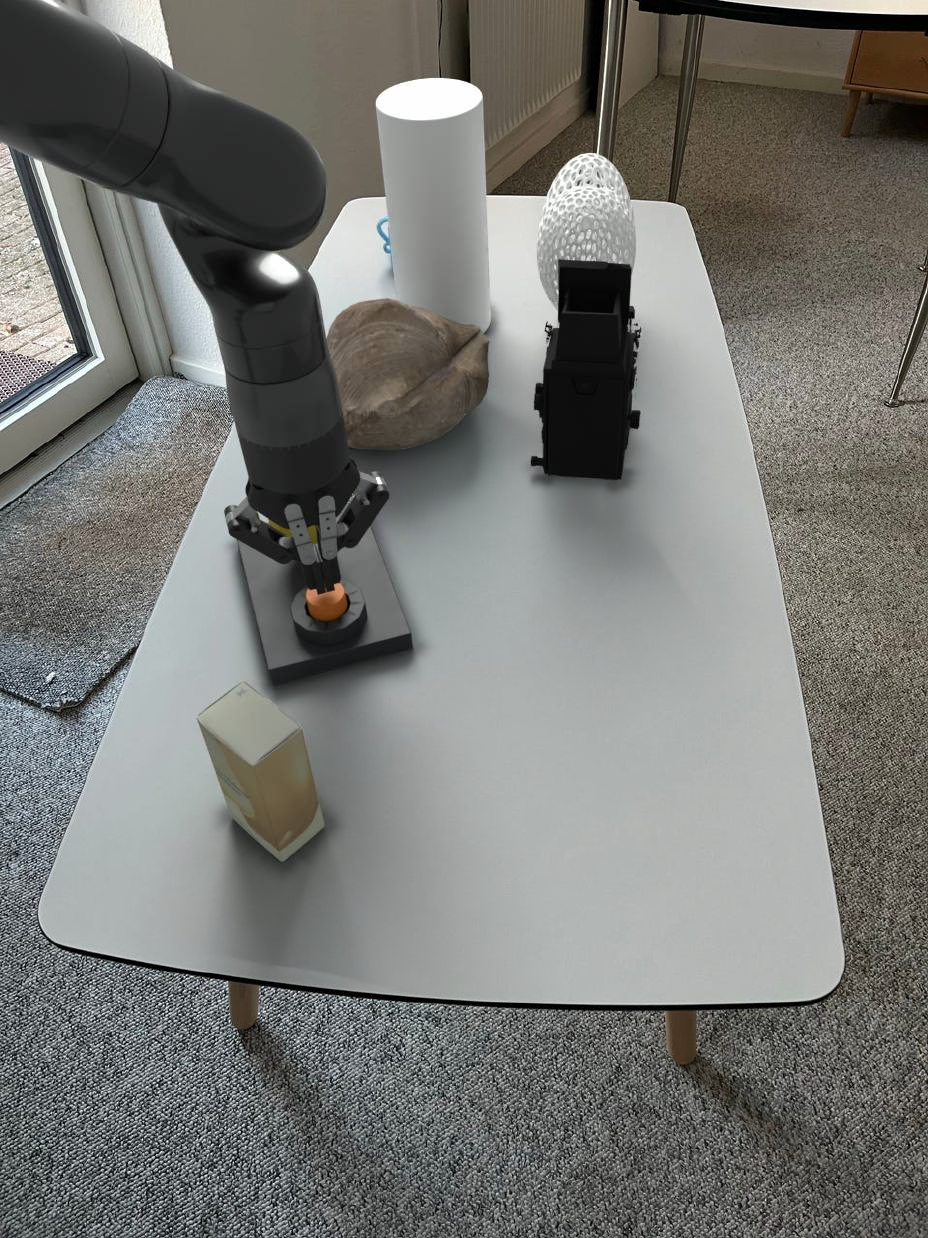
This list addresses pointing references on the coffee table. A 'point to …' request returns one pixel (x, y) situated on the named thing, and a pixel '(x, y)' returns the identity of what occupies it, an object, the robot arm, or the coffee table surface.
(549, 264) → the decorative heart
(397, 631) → the dark grey base plate
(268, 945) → the coffee table surface
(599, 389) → the camera
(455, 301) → the tall pillar cylinder
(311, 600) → the button
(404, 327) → the seashell
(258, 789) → the cosmetic box
